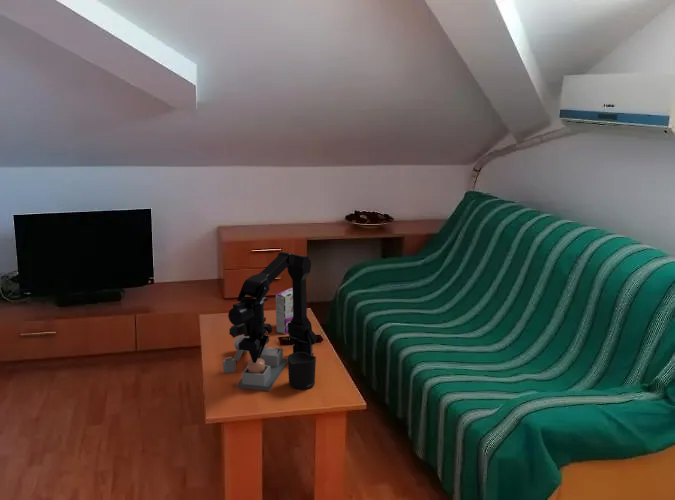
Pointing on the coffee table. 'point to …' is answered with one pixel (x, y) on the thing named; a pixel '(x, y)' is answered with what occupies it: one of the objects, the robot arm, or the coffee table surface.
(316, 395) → the coffee table surface
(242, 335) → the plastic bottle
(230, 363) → the lighter
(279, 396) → the coffee table surface
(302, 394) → the coffee table surface
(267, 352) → the grey button
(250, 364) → the terracotta button
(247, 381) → the twin socket base plate
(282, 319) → the candy bar box
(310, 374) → the pen holder
